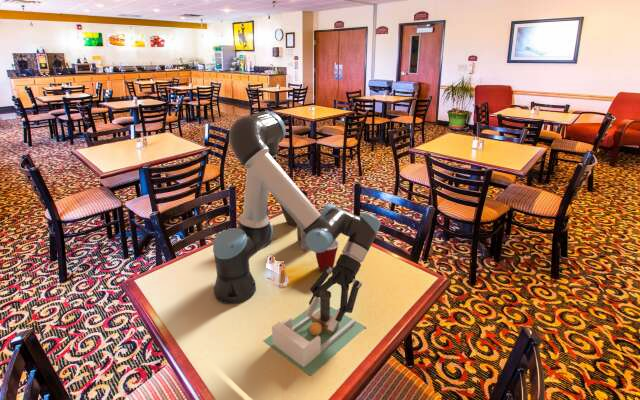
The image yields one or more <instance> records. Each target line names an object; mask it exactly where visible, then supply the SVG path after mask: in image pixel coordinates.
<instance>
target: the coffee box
mask: <svg viewBox="0 0 640 400" xmlns="http://www.w3.org/2000/svg"><path fill="white" fill-rule="evenodd" d="M296 232H297V233H296V235H297V243H298V244H299V246H300V249H301V250H302V251H303V250H310V249H309V248H308V247H307V244H306V241H305V238H306V234H305V232H304V231H303V230H302V229H301V228H300V226H299V225H298V224H297V226H296Z"/></svg>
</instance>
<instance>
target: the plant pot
mask: <svg viewBox="0 0 640 400" xmlns="http://www.w3.org/2000/svg"><path fill="white" fill-rule="evenodd" d="M300 190H301V191H302V193H303V194H304V195H305V196H306V197H307V198H308V199H309V193H308V192H307V190H303V189H300ZM279 205H280V208H281V211H282V214H283V217H284V219H285V221H286V223H287V225H288V226H291V227H297V223H296V222H295V221H294V219H293V218H292V217H291V216H290V215H289V214H288V212H287V211H286V210H285V209H284V208H283V207H282V205H281V204H280V203H279Z"/></svg>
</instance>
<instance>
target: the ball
mask: <svg viewBox="0 0 640 400" xmlns="http://www.w3.org/2000/svg"><path fill="white" fill-rule="evenodd" d="M309 331H310V333H311V334H312V335H319V334H320V333H321V331H322V326H321V324H320V323H318V322H313V323H311V325H310V327H309Z"/></svg>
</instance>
